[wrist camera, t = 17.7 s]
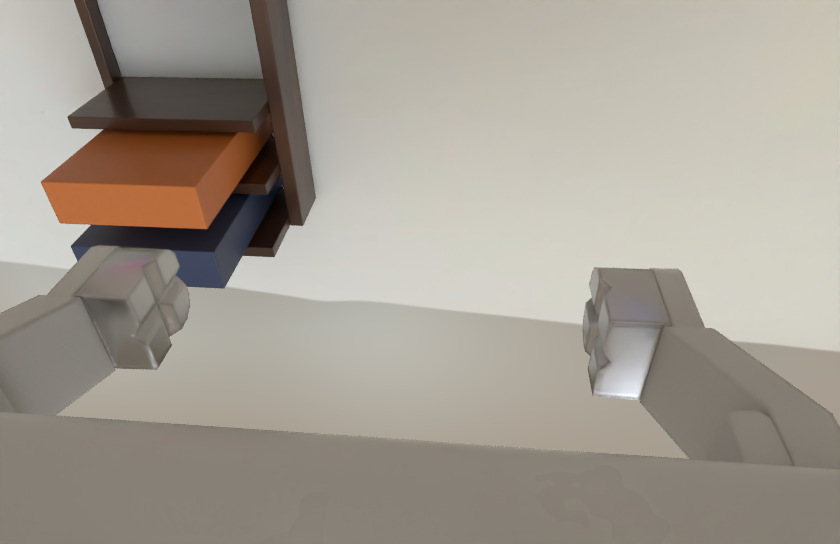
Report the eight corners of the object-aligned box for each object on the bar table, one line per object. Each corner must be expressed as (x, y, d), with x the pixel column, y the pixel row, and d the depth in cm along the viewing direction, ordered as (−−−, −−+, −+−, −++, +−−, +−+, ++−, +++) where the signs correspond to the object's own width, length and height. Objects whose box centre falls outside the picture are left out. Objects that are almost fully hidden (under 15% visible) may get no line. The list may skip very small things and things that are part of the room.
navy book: (163, 148, 46) (69, 245, 36) (277, 151, 45) (214, 252, 35) (173, 180, 48) (86, 282, 38) (282, 184, 47) (224, 288, 37)
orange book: (146, 93, 43) (39, 181, 33) (266, 95, 43) (194, 186, 32) (157, 129, 45) (59, 223, 35) (273, 132, 44) (207, 229, 34)
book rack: (26, -169, 34) (-78, -163, 28) (260, -175, 33) (206, -169, 27) (150, 192, 49) (100, 249, 43) (315, 198, 48) (288, 258, 41)
